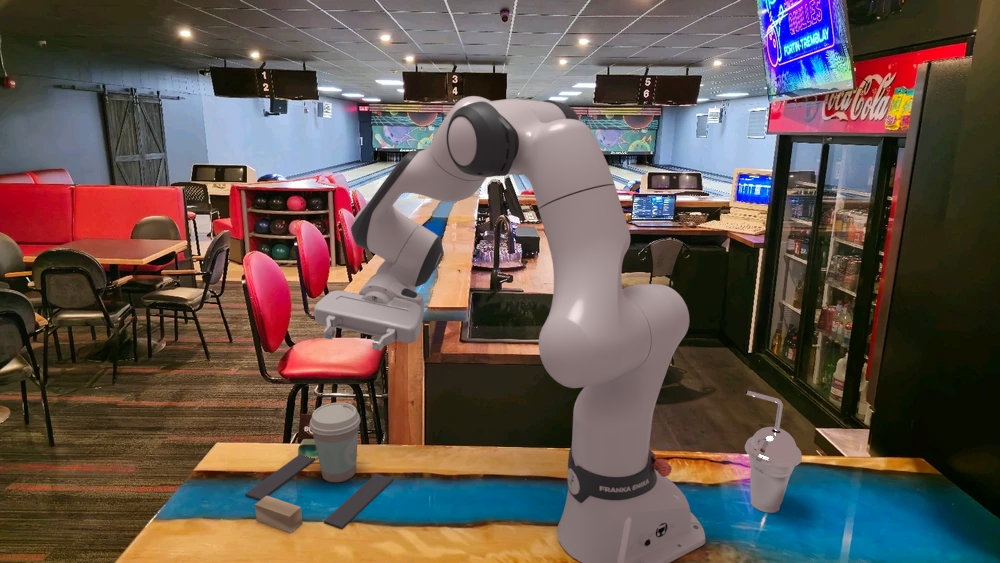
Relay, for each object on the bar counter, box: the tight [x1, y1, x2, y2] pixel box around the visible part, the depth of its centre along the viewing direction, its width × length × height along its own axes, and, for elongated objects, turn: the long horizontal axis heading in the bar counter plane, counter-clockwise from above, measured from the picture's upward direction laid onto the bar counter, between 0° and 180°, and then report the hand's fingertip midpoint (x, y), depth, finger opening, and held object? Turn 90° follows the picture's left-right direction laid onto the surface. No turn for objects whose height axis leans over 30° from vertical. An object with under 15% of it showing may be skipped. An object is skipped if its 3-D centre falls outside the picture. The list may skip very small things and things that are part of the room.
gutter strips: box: [245, 453, 394, 530], centre depth 106 cm, size 14×20×1 cm
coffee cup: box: [309, 402, 361, 483], centre depth 109 cm, size 8×8×12 cm
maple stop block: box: [254, 495, 303, 534], centre depth 97 cm, size 2×7×3 cm, turn 65°
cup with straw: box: [744, 390, 803, 514], centre depth 100 cm, size 8×9×20 cm
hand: (351, 341), depth 110 cm, fingers open, 8 cm apart
